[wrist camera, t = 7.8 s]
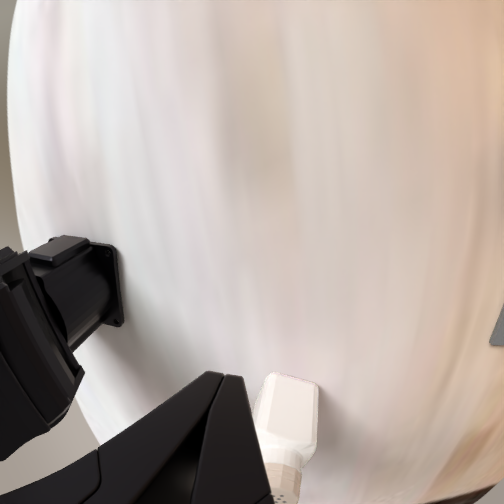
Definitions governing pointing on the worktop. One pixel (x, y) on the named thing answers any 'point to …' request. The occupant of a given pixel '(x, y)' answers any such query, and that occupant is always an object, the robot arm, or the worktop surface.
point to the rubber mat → (498, 331)
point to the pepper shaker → (286, 432)
